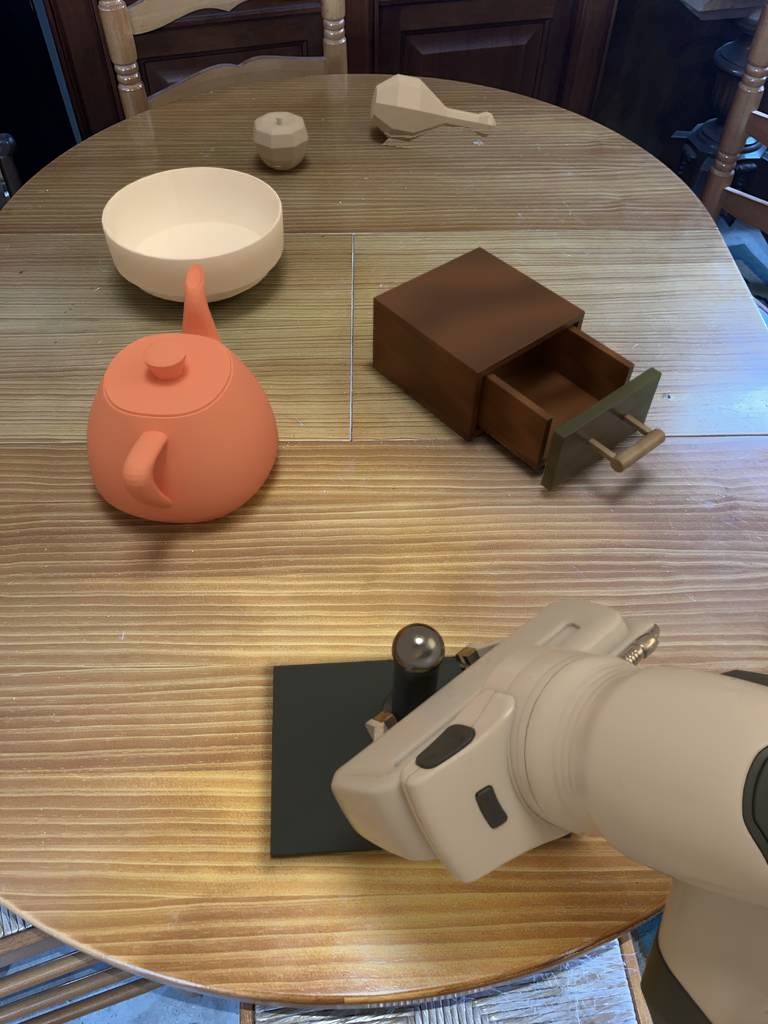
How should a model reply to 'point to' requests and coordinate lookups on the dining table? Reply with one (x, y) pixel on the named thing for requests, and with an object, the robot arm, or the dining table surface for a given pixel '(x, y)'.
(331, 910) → the dining table surface
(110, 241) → the bowl
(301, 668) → the mat
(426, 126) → the chicken leg
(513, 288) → the cabinet
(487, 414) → the drawer
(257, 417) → the teapot
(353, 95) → the dining table surface
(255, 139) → the apple
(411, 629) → the domed metal post
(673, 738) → the robot arm
